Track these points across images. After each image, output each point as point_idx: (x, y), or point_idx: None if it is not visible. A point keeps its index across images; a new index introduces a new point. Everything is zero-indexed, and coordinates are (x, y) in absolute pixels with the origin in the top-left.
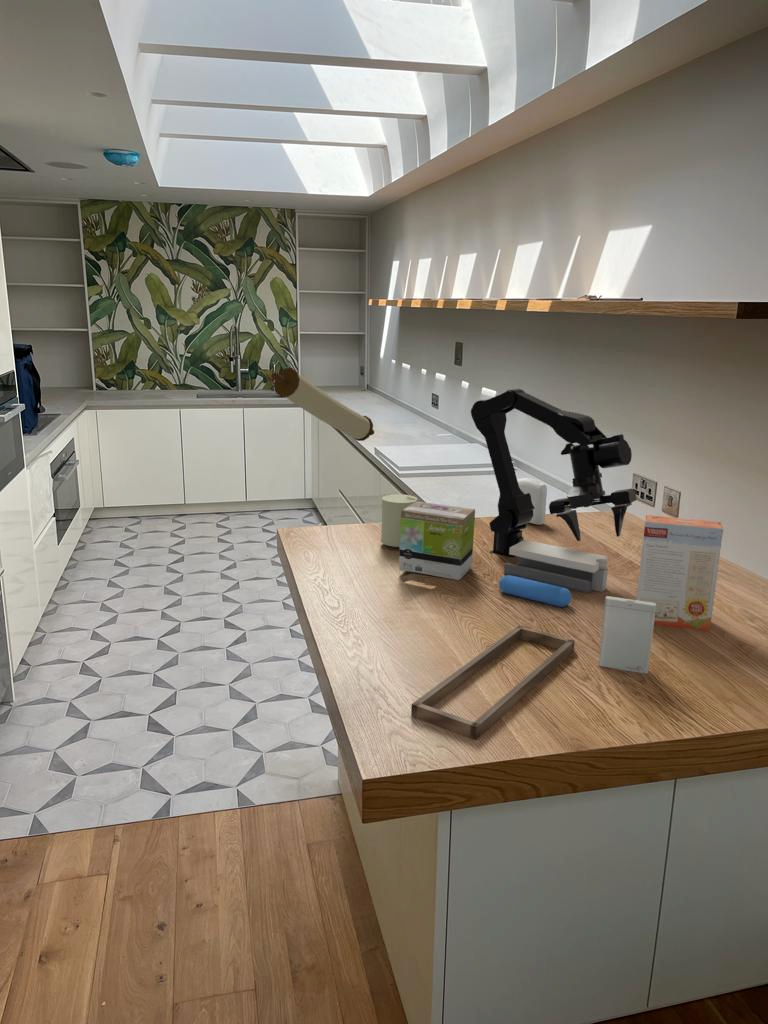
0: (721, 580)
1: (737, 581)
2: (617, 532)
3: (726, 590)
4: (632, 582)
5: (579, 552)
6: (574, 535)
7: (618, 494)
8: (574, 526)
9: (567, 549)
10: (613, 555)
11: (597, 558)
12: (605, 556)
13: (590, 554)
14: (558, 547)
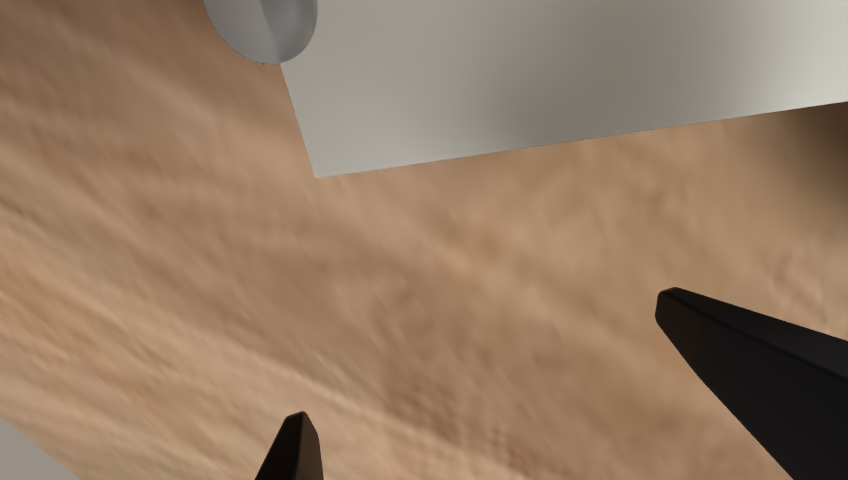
0: (148, 449)
1: (121, 465)
2: (278, 449)
3: (66, 390)
4: (301, 250)
5: (561, 90)
6: (741, 307)
7: None
8: (836, 388)
9: (705, 88)
10: (529, 453)
11: (335, 51)
12: (327, 167)
13: (449, 116)
14: (818, 76)
